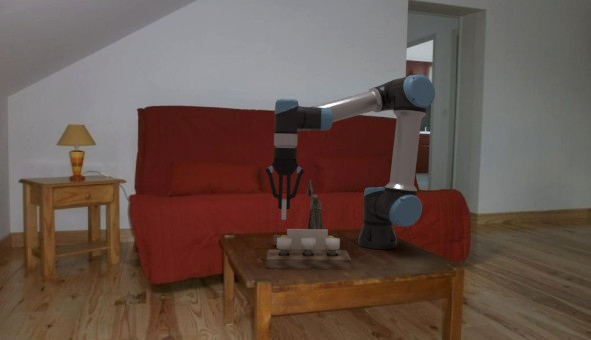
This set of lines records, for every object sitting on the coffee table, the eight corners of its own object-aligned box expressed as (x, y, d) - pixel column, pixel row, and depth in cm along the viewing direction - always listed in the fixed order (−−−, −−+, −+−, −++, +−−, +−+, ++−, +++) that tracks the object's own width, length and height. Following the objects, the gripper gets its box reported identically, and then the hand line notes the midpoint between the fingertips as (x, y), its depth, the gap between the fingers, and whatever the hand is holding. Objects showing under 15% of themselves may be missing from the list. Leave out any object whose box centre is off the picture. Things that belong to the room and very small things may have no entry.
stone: (285, 252, 156) (285, 238, 156) (271, 245, 166) (271, 232, 166) (305, 249, 160) (306, 236, 160) (291, 243, 170) (291, 231, 170)
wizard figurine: (302, 241, 173) (303, 179, 172) (298, 236, 182) (299, 178, 180) (327, 240, 175) (328, 179, 174) (322, 235, 184) (323, 178, 182)
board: (345, 258, 148) (346, 250, 148) (351, 269, 136) (351, 259, 136) (268, 258, 147) (268, 249, 147) (266, 268, 135) (266, 258, 135)
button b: (314, 254, 144) (315, 237, 143) (315, 258, 139) (316, 240, 139) (300, 254, 144) (300, 237, 143) (301, 258, 139) (301, 240, 138)
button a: (338, 254, 144) (338, 237, 144) (340, 258, 139) (340, 240, 139) (324, 254, 144) (324, 237, 143) (325, 258, 139) (326, 240, 139)
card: (334, 258, 149) (335, 229, 148) (334, 258, 147) (335, 230, 147) (279, 257, 148) (279, 228, 147) (279, 258, 147) (279, 229, 146)
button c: (291, 254, 144) (291, 237, 143) (291, 258, 139) (291, 240, 138) (276, 254, 143) (277, 236, 143) (276, 258, 139) (276, 240, 138)
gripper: (305, 147, 143) (303, 217, 144) (266, 146, 142) (264, 216, 144) (306, 147, 135) (304, 221, 137) (264, 146, 135) (263, 220, 136)
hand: (283, 218), depth 140 cm, fingers closed
